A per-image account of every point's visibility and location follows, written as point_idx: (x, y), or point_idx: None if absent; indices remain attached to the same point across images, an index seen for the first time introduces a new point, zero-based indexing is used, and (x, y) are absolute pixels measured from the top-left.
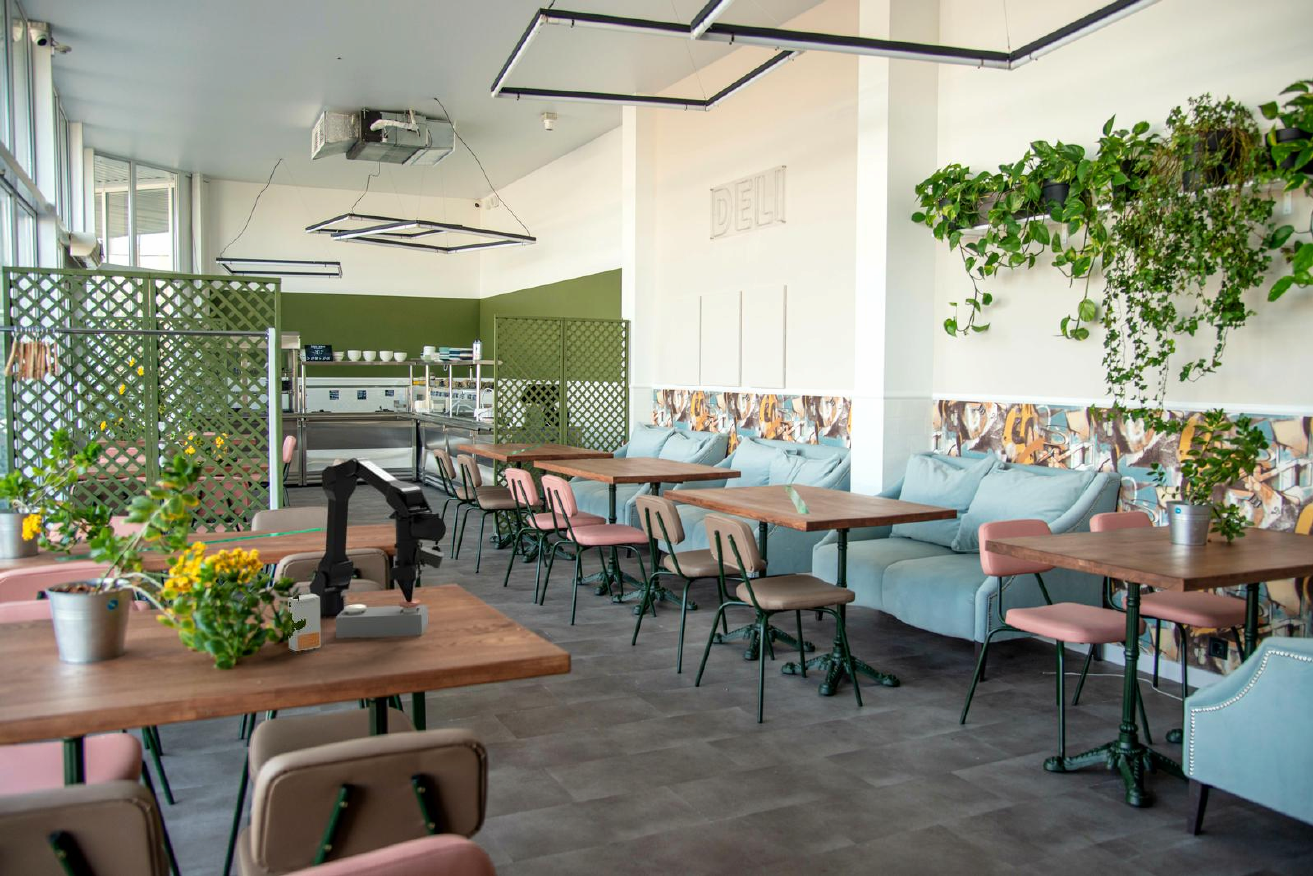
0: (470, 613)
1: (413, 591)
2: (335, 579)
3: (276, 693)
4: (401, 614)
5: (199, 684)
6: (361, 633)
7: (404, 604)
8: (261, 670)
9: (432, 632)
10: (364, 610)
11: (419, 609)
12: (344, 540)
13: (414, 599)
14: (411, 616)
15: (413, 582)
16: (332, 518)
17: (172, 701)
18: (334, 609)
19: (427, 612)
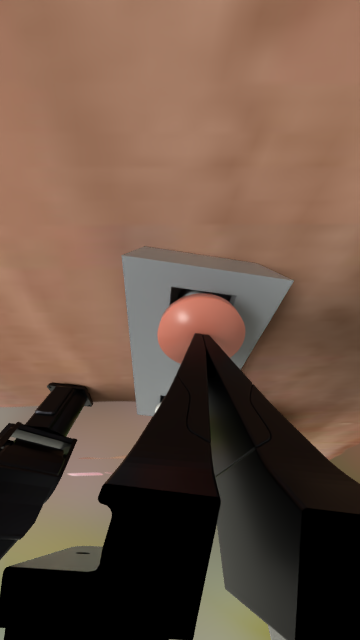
0: None
1: (204, 361)
2: (50, 474)
3: None
4: (245, 340)
5: (310, 441)
6: None
7: (234, 352)
8: (303, 423)
9: (236, 230)
10: (160, 395)
11: (196, 288)
12: None
13: (163, 322)
14: (271, 312)
15: (327, 461)
16: None
17: (343, 447)
18: (76, 401)
19: (136, 251)
